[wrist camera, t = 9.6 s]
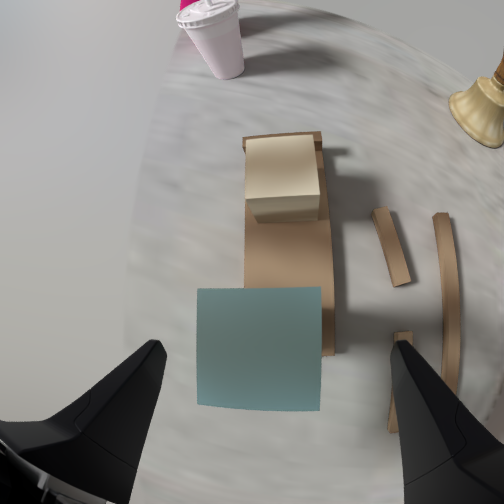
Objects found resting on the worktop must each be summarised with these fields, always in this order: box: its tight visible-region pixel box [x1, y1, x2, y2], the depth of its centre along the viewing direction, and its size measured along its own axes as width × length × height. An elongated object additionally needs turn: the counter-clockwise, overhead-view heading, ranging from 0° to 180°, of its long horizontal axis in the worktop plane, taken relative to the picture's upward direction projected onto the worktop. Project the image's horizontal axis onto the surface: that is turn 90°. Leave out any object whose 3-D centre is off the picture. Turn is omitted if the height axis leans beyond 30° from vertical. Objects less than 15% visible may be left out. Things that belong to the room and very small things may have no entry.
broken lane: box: [371, 206, 460, 433], centre depth 17 cm, size 18×7×1 cm, turn 0°
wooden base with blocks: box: [197, 131, 335, 411], centre depth 14 cm, size 17×6×14 cm, turn 0°
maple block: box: [245, 135, 320, 223], centre depth 19 cm, size 4×4×4 cm
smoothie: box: [176, 0, 245, 80], centre depth 20 cm, size 6×6×14 cm
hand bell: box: [449, 54, 504, 148], centre depth 12 cm, size 8×8×16 cm
